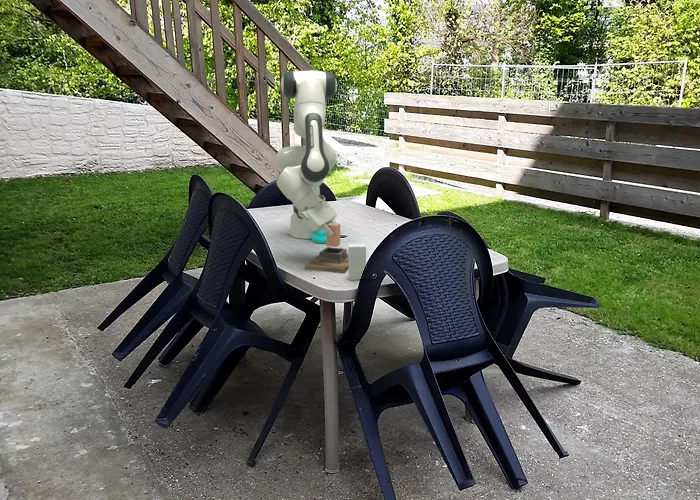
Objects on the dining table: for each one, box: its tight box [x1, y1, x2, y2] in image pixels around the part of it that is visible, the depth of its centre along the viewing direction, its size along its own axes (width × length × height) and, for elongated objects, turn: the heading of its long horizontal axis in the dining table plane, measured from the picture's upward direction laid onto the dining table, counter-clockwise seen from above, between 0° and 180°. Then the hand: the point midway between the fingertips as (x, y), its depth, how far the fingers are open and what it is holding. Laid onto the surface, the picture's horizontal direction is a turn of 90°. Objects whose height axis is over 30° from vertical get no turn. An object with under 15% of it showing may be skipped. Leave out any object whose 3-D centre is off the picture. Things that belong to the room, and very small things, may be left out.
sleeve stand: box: [304, 246, 349, 274], centre depth 238 cm, size 20×15×5 cm
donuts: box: [311, 218, 336, 244], centre depth 269 cm, size 10×10×10 cm
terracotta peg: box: [325, 222, 341, 248], centre depth 235 cm, size 4×4×8 cm
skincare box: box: [347, 243, 367, 281], centre depth 220 cm, size 6×4×12 cm
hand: (334, 232), depth 235 cm, fingers closed on terracotta peg, 4 cm apart
